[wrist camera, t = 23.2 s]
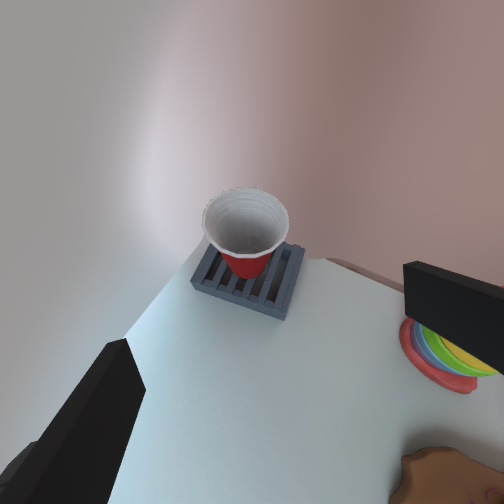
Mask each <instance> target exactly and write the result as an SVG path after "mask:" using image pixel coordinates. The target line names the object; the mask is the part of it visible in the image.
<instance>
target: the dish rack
mask: <svg viewBox="0 0 504 504" xmlns="http://www.w3.org/2000/svg"><path fill="white" fill-rule="evenodd" d="M300 247H301V246H298V245H295V244H294V245H290V244H286V242H284V241H283V242H282V243H281V244H280V245H279V246H278V247H277V248H276V249H274V250H273V252H272V254H271V256H273V259H272V261H271V264H270V267H269V269H268V272H267V275H266V277H265V280H264V283H263V286H262V288H261V291H260V294H259V296H258V297H257V296H255V295H252V294H250V293H251V290H252V288H253V285H254V283H255V280H256V277H254V278H252V279H247V282H246V284H245V286H244V289H243V291H240V290H237V289H235V286H236V284H237V282H238V279H239V276H237V275H236V274H235V273H234V272H233V274H232V276H231V278H230V281H229V283H228V285H227V286H225V285H222V284H219V283H220V281H221V279H222V277H223V275H224V273H225V271H226V268H227V266H228V265H227V263H226V262H225V260H224V258H223V259H222V262H221V264H220V266H219V268H218V270H217V272H216V274H215V276H214V278H213V280H212V281H210V280H207V279H208V277H209V275H210V273H211V271H212V269H213V267H214V265H215V263H216V261H217V259H218V257H219V255H220V252H219V250H217V248H216V247H215V246H214V245H212V244H211V243H210V245H209V247H208V249H207V251H206V252H205V254H204V256H203V258H202V260H201V262H200V264H199V265H198V267H197V269H196V271H195V273H194V275H193V276H192V278H191V280H190V282H191V283H192V285H193V287H194V288H195V289H196V290H198V291H201V292H204V293H207V294H210V295H213V296H215V297H218V298H221V299H224V300H227V301H230V302H232V303H235V304H238V305H241V306H244V307H247V308H249V309H252V310H255V311H258V312H261V313H264V314H266V315H269V316H272V317H275V318H278V319H281V320H283V321H284V319H285V316H286V313H287V309H288V306H289V303H290V299H291V296H292V293H293V289H294V286H295V283H296V279H297V276H298V273H299V269H300V266H301V263H302V259H303V256H304V252H305V249H304V248H300ZM280 258H281V259H285V260H288V264H287V267H286V270H285V273H284V276H283V279H282V282H281V285H280V288H279V291H278V294H277V297H276V300H275V302H272V301H269V300H266V298H267V295H268V292H269V289H270V287H271V284H272V281H273V278H274V275H275V272H276V270H277V267H278V264H279V261H280Z"/></svg>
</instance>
